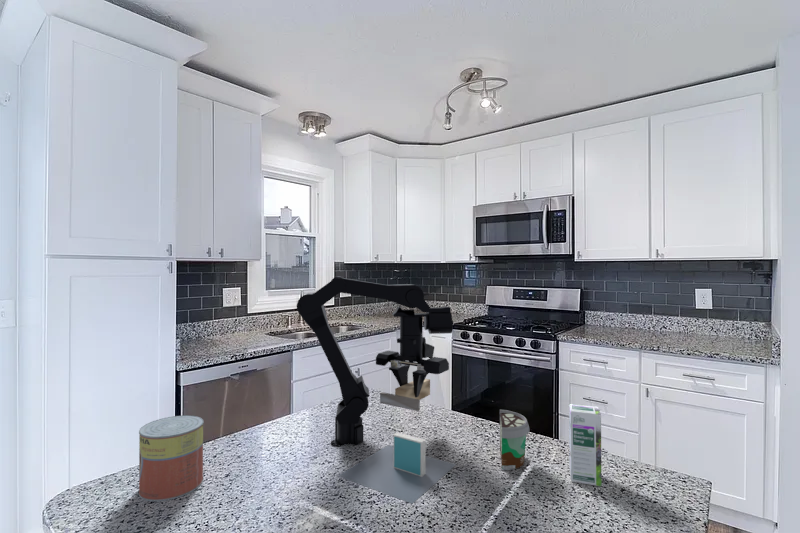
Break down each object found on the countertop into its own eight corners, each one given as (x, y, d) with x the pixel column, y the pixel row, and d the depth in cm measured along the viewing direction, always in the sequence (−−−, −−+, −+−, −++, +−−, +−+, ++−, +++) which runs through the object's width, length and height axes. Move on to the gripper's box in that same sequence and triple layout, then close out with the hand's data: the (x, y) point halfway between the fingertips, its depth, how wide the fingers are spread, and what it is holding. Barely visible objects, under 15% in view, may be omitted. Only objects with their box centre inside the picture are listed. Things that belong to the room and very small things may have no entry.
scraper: (407, 390, 113) (407, 375, 113) (443, 397, 107) (443, 381, 107) (380, 402, 102) (380, 386, 102) (418, 411, 96) (417, 394, 96)
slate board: (337, 479, 84) (337, 475, 84) (388, 448, 99) (388, 444, 99) (412, 508, 74) (412, 503, 74) (456, 468, 89) (456, 464, 89)
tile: (393, 467, 88) (393, 434, 88) (397, 464, 89) (397, 432, 89) (421, 477, 84) (421, 442, 84) (425, 473, 85) (425, 439, 85)
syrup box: (570, 482, 83) (570, 410, 84) (569, 469, 89) (569, 401, 89) (601, 487, 81) (601, 414, 82) (598, 473, 87) (598, 405, 87)
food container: (532, 479, 85) (532, 430, 85) (501, 476, 86) (501, 428, 86) (526, 453, 97) (526, 410, 97) (499, 450, 98) (499, 408, 98)
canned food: (144, 478, 85) (144, 419, 85) (204, 467, 90) (204, 412, 90) (133, 507, 75) (133, 440, 75) (202, 493, 79) (202, 431, 79)
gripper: (458, 333, 106) (458, 394, 106) (398, 327, 116) (398, 382, 116) (437, 339, 96) (437, 406, 96) (374, 332, 107) (374, 392, 107)
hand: (411, 395), depth 104 cm, fingers closed on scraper, 3 cm apart
